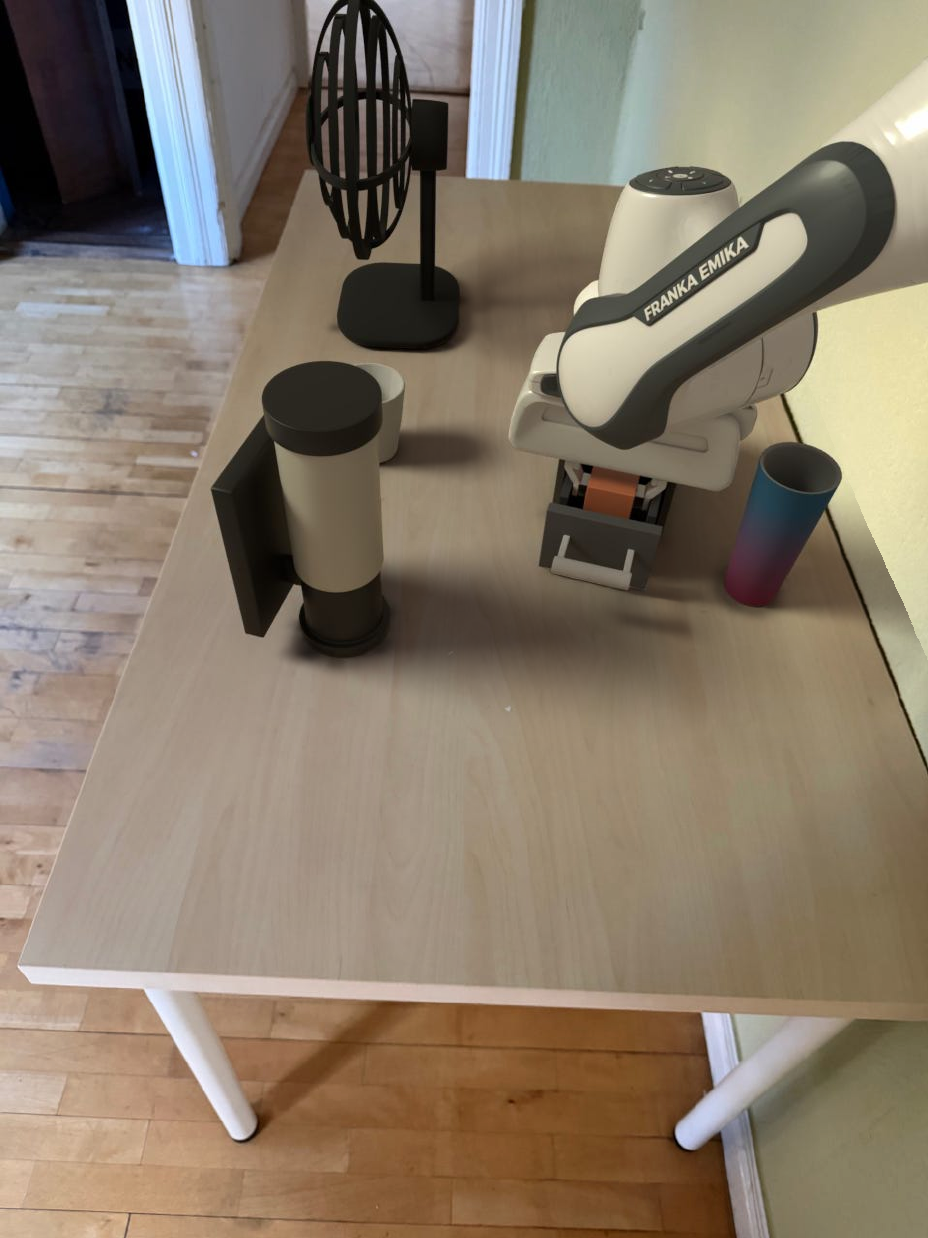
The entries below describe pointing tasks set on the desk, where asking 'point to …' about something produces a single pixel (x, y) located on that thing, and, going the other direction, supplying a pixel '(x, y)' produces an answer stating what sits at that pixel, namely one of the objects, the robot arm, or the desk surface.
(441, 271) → the desk fan
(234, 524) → the light fixture
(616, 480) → the block
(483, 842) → the desk surface
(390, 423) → the cup
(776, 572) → the cup
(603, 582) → the drawer
